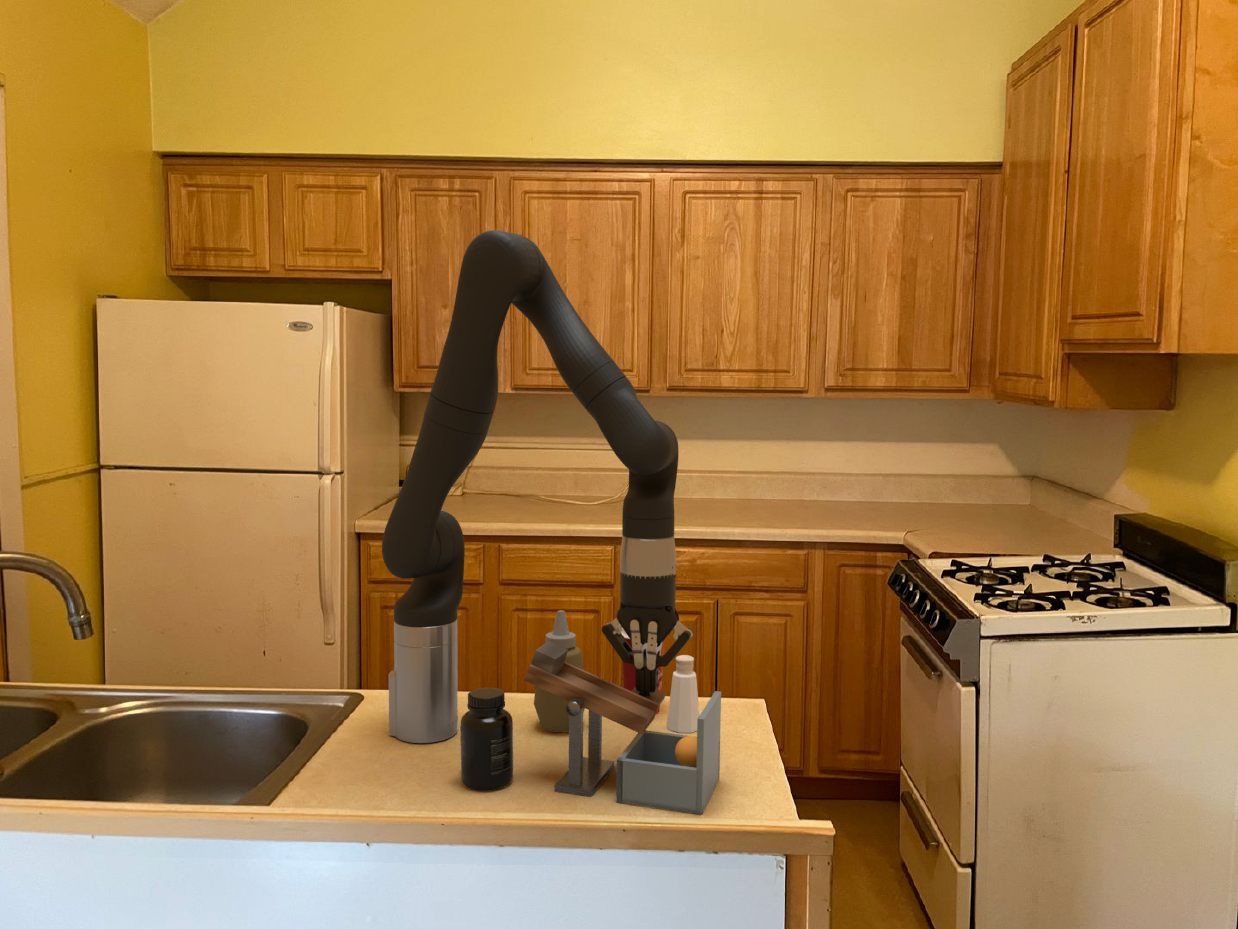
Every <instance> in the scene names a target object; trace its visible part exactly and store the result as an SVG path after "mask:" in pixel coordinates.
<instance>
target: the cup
mask: <svg viewBox="0 0 1238 929" xmlns="http://www.w3.org/2000/svg"><path fill="white" fill-rule="evenodd" d="M721 718H722V691H717V690H715V691H714V692H713V693H712V696H711V697H710V699H709V700H708V702H707V703H706V705H705V706H704V708H703V709H702V711H701V712H700V713H699V717H698V719H697V731H696V736H695V735H694V736H695V737H697V767H696V768H694V767H687V766H682V765H681V764H680V763H679V762H678V761H677V759H676V756H675V748H676V745H677V743H678V742H679V741H680V740H681V739H682V738H684V737H686V736H689V735H686V734H681V733H679V734H678V733H672V732H662V731H653V730H647V729H646V730H645V731H644V733H643V734H640V733H638V732H637V734H635V735H634V737H633V739H631V742H630V743H629V744H628V745H627V746H626V748H624V750H623V751H622V753H621V754H620V755H618V758H616V779H615V780H616V783H615V784H616V785H615V786H616V790H615V796H616V797H615V798H616V799H615V802H616V803H619V804H627V805H630V806H631V805H632V806H641V807H646V808H652V809H661V810H666V811H667V810H668V811H673V812H680V813H687V814H693V815H699V816H700V815H701V816H702V815H703V814H704V811H705V810H706V808H707V805H708V804H709V801H710V799H711V798H712V795H713V793H714V791H715V789H716V787H717V785H718V784H719V781H720V769H721V768H720V764H721V762H720V760H721V756H720V755H721V726H722V725H721V721H722V720H721Z"/></svg>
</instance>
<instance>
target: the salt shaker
mask: <svg viewBox="0 0 1238 929" xmlns="http://www.w3.org/2000/svg"><path fill="white" fill-rule="evenodd" d="M675 662H676V663H675V667H676V669H675V671H673V672H672V677H671V678H672V679H671V687H670V695H669V702H668V712H667V719H666V727H667V729H668V731H669V730H670V731H671V732H674V733H676V734H678V733H679V734H686V733H687V734H692V733H695V732H697V719H698V717H699V716H700V709H699V708H700V706H699V694H698V693H699V692H698V682H697V681H698V680H697V673H696V672H695V671H694V662H695V657H693V656H691V655H688V654H682V655H676V656H675Z"/></svg>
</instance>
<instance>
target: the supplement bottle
mask: <svg viewBox="0 0 1238 929" xmlns="http://www.w3.org/2000/svg"><path fill="white" fill-rule="evenodd" d="M505 699H506V698H505V691H504V690H502V689H501V688H495V687H480V688H475V689H471V690H470V691H469V692H468V693H467V704H466V705H467V710H468V711H467V712H465V713H463V715H462V717H461V719H460V724H459V725H460V727H459V728H460V768H461V770H460V774H461V783H462V784H463V786H464V787H466V788H467V789H469V790H471V791H477V792H490V791H491V792H492V791H497V790H500V789H504V788H505V787H507V786H508V785H510V784H511V782H512V781H513V779H514V735H513V734H514V730H513V729H514V728H513V727H514V726H513V725H514V724H513V717H512V715H511V713H510V712H509V711H508V710H506V709H505V707H506V701H505Z"/></svg>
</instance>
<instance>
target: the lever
mask: <svg viewBox="0 0 1238 929" xmlns="http://www.w3.org/2000/svg"><path fill="white" fill-rule="evenodd" d="M567 652H568V649H566V648H563V647H561V646H559V645H556V644H554V643H552V642H550V641H548V642H547V643H544V644H542V645H541V646H539V647H538V648H537V649H535V650H534V654H533V656H532V660H531V663H530V664H529V665H528V667H527V671H526V674H525V676H524V677H525V678H524V682H527V683H529V684H532V685H533V686H535V687H536V686H538V687H540V688H542V689H544V690H546V691H548V692H551V693H553V694H555V695H557V696H559V697H562V698H564V699H566V700H568V701H569V700H570V699H571V698H575V699H584V703H583V708H585V710H588V711H589V710H590V711H592V712H594V713H596V714H599V715H601V716H602V718H605V719H607V720H609V721H612V722H614V723H616V724H618V725H621V726H623V727H625V728H627V729H629V730H632V731H634V732H635V733H637V734H638V733H640V734H643V733H644V731H645V730H647V728H648V727H649V726H650V725H651V724H652V722H653V721H654V720H655V718H656V715H657V714H656V712H657V710H658V707H659V705H660V706H661V704H662V702H663V701H664V700H665V698H666V695H667V694H666V693H665V692H663V691H662V690H661V691H658V690H656V691H655V692H654V693H653V694H652V695H651V696H641V695H640V694H639V691H637V690H636V687H635V688H634V689H633V690H632V691H629V690H627V689H625V688H624V686H623V687H622V686H620V685H618V684H617V683H613V682H612V681H610V680H607V679H604V678H602V677H601V676H598V675H596V674H593V673H591V672H589V671H587V670H585V669H584V668H583V669H584V670H583V669H580V668H578V667H576V666H574V665H571V664H569V663H567V662H565V658H566V655H567Z"/></svg>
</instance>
